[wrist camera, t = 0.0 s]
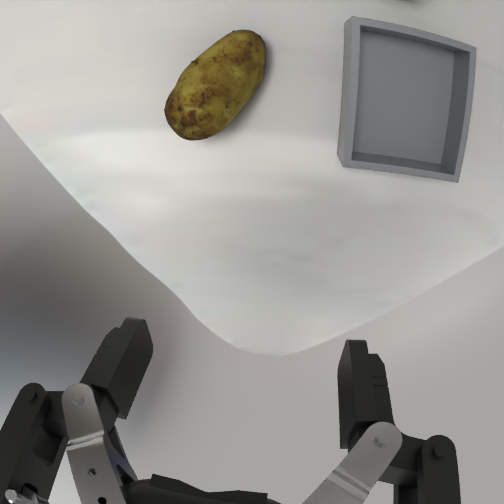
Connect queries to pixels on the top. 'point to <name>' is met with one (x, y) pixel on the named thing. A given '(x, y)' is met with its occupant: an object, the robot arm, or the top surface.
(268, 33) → the top surface
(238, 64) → the potato
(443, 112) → the bin
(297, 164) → the top surface
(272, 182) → the top surface
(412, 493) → the robot arm
